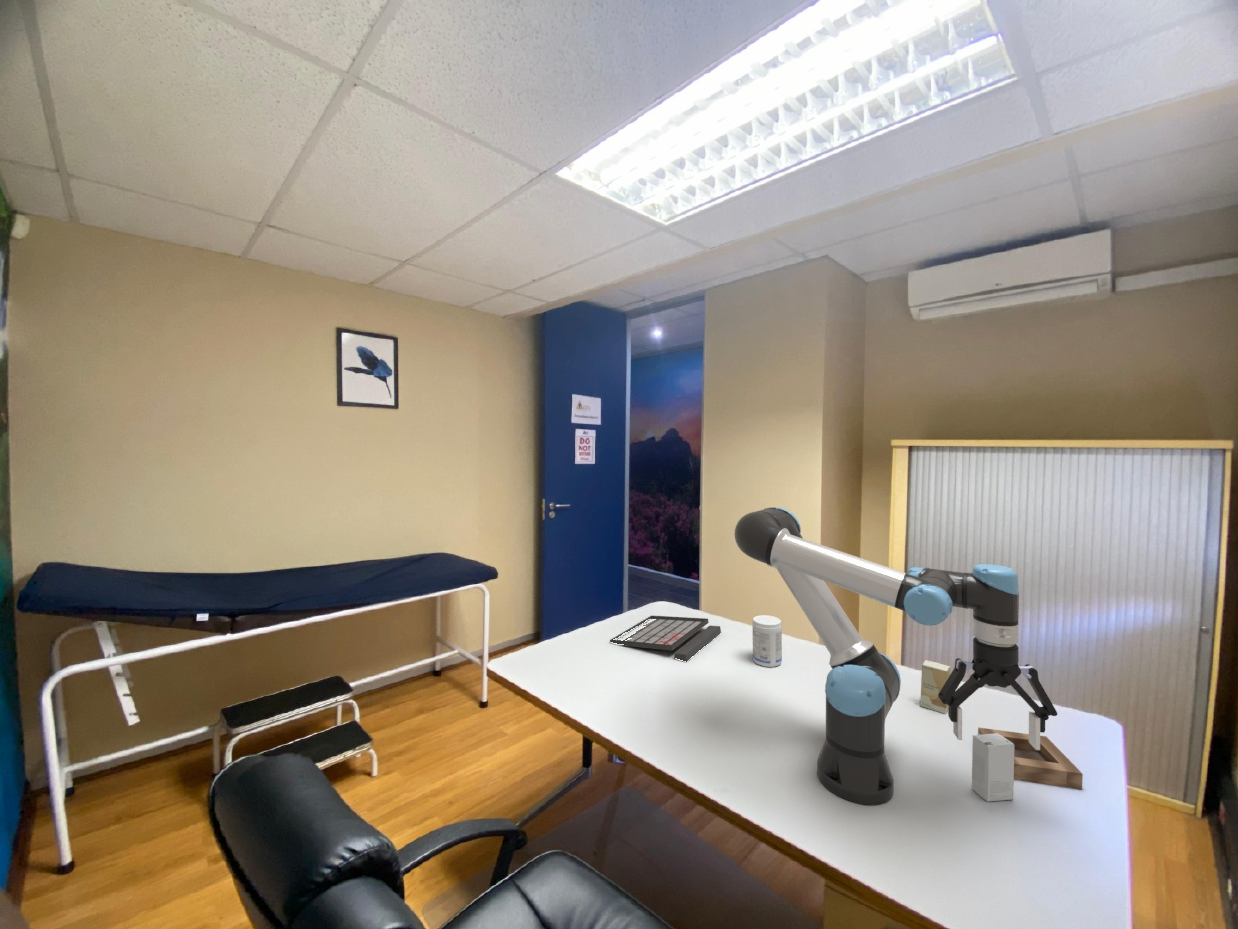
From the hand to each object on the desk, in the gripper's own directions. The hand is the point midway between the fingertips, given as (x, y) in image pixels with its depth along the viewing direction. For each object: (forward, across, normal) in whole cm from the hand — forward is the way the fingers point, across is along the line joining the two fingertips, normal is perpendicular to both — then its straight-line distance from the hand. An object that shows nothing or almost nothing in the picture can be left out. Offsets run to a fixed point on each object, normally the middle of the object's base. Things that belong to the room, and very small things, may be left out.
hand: (995, 741), depth 102 cm
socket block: (+12, +12, +14) cm, 22 cm away
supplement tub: (+11, -46, +54) cm, 72 cm away
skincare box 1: (+12, 0, +36) cm, 38 cm away
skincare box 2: (+12, 0, 0) cm, 12 cm away
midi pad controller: (+11, -82, +66) cm, 106 cm away
